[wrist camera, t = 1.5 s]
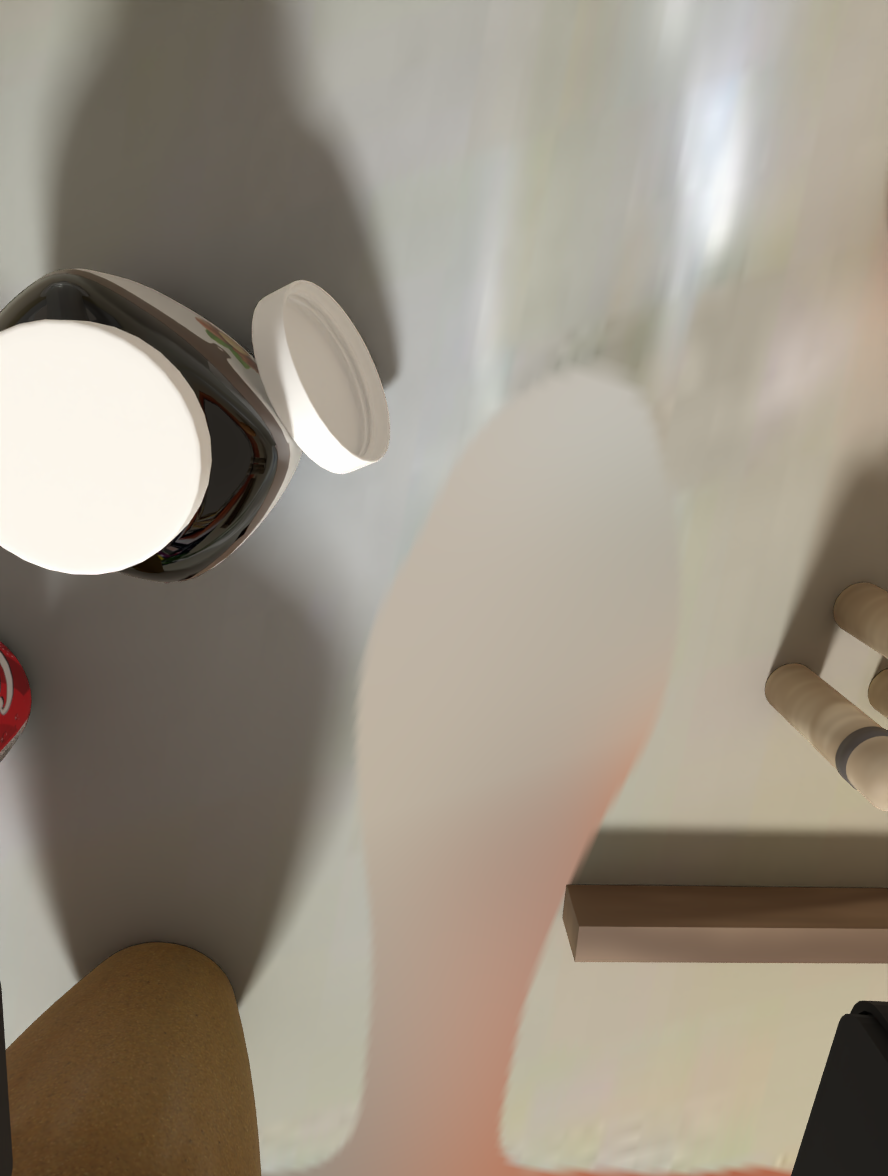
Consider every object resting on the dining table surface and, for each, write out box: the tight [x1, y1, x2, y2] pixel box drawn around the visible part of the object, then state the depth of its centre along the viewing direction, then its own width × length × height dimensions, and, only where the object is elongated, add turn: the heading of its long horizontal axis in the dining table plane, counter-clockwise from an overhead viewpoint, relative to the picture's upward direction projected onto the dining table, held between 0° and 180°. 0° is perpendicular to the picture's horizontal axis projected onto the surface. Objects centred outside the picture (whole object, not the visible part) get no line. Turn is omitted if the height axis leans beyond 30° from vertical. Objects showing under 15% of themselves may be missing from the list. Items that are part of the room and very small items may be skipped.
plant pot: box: [5, 942, 261, 1176], centre depth 33 cm, size 15×15×16 cm
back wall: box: [563, 885, 888, 963], centre depth 40 cm, size 2×24×3 cm, turn 87°
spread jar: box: [0, 268, 390, 583], centre depth 27 cm, size 12×11×12 cm
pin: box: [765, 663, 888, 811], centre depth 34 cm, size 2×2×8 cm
